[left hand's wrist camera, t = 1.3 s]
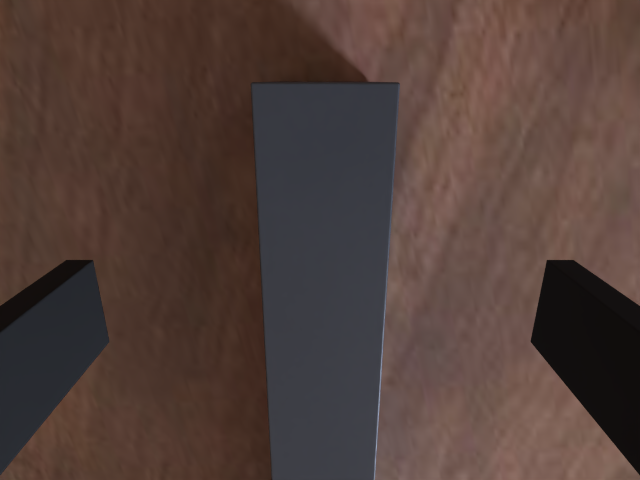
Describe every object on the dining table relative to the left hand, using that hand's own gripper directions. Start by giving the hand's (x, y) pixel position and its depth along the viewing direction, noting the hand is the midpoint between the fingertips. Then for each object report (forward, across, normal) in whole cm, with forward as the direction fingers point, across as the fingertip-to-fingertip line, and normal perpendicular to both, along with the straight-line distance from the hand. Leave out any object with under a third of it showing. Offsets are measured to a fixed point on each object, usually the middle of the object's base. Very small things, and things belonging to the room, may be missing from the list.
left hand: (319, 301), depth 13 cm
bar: (+12, 0, -21) cm, 24 cm away
